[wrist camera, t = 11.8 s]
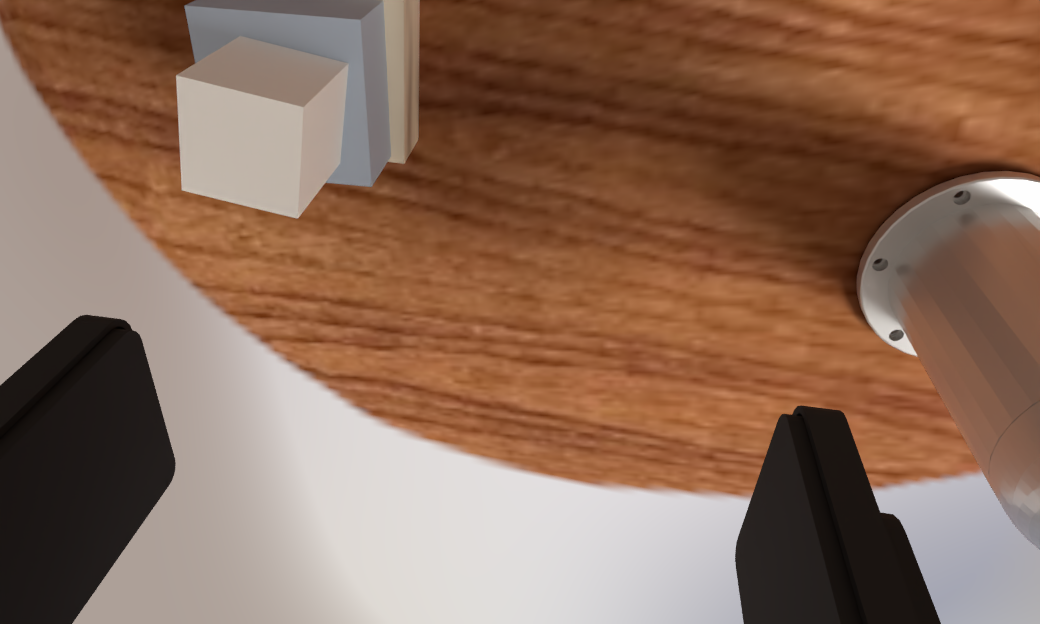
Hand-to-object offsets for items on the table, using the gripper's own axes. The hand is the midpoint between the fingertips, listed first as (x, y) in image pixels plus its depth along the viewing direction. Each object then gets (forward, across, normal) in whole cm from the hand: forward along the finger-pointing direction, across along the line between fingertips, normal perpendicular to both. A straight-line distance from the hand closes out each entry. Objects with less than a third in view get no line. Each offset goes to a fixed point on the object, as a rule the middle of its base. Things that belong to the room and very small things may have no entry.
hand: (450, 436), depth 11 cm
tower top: (+29, +13, +4) cm, 32 cm away
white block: (+25, +13, +4) cm, 28 cm away
